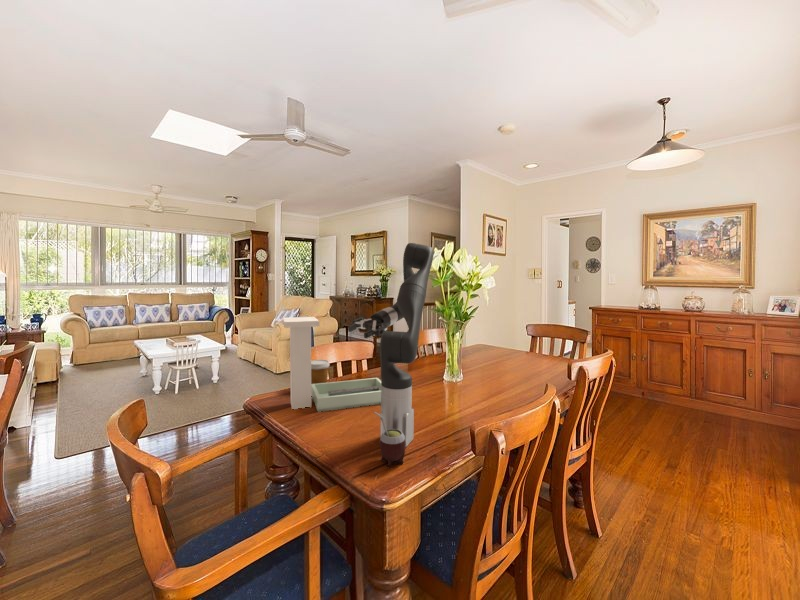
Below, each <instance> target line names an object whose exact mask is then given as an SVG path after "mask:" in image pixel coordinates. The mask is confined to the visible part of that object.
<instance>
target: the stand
mask: <svg viewBox="0 0 800 600" xmlns="http://www.w3.org/2000/svg"><path fill="white" fill-rule="evenodd" d="M282 325H283V327H284V329H286V328H289V359H290V361H289V362H290V363H289V364H290V366H289V368H290V373H289V374H290V377H289V378H290V381H289V382H290V386H289V387H290V407H291V410H292V409H294V410H299V409H298V408H302V409H306V408H305V407H310V408H312V397H311V361H312V328H313V327H316V328H317V327H320V321H319V319H317V317H315V316H297V317H294V316H293V317H282Z"/></svg>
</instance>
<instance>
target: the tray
mask: <svg viewBox="0 0 800 600" xmlns="http://www.w3.org/2000/svg"><path fill="white" fill-rule="evenodd" d="M372 386H377V387H378V388H379V391H372V392H363V393H354V394H345V395H336V396H328V391H335V390H344V389H354V388H363V387H372ZM311 396H312V397H311V400H312V402H313V401H314V402H313V403H315V404H314V406H316V407H315V409H316V411H318V412H317V413H322V412H321V411H323V412H329V410H331V411H339V410H345V409H346V408H347V409H353V407H354V408H361V407H360V406H362V407H368V406H369V405H370V406H375V405H377V406H378V405H381V379H380V378H379V377H371V378H370V377H369V378H361V379H360V378H359V379H351V380H341V381H329V382H328V381H327V383H317V384H311ZM338 409H339V410H338Z"/></svg>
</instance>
